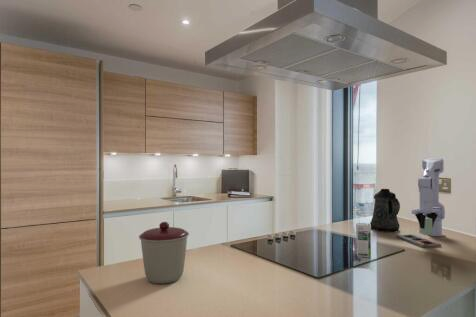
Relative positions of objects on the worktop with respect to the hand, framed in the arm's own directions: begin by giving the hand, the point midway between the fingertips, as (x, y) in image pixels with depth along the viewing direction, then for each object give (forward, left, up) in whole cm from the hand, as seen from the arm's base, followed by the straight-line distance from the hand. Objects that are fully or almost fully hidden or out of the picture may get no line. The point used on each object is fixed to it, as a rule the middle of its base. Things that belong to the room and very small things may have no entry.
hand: (426, 227), depth 160 cm
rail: (-7, 0, -9) cm, 11 cm away
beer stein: (-35, +1, -9) cm, 36 cm away
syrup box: (+11, -40, -9) cm, 42 cm away
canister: (+26, -127, -9) cm, 130 cm away
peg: (0, 0, -3) cm, 3 cm away
